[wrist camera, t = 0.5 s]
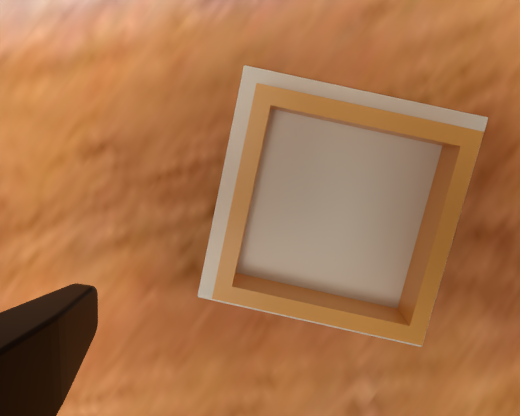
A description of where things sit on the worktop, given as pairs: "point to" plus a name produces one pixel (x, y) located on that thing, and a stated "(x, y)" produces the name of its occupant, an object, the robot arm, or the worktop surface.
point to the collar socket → (338, 205)
